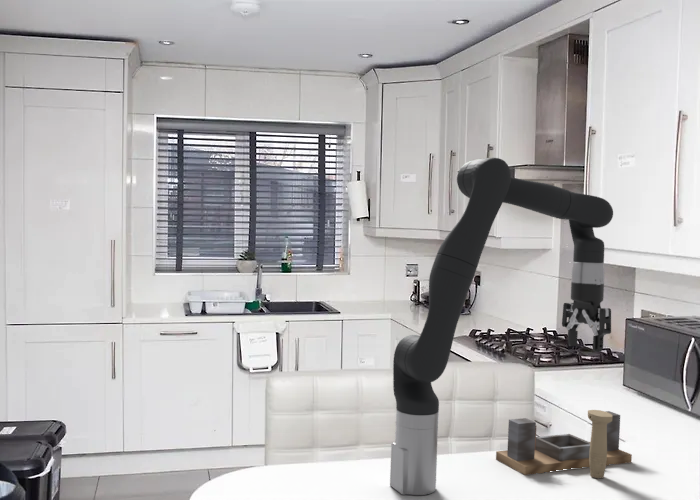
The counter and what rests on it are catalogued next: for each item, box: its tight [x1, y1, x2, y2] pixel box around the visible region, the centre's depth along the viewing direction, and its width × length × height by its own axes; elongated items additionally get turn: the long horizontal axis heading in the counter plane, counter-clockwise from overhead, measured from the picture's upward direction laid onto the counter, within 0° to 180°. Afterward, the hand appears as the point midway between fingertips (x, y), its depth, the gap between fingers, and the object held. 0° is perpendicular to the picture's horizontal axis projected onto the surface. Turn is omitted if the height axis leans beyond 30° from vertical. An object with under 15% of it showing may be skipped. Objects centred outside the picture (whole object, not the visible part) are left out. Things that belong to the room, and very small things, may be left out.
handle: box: [587, 409, 613, 479], centre depth 173 cm, size 5×6×15 cm
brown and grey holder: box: [495, 410, 633, 476], centre depth 184 cm, size 32×12×11 cm, turn 112°
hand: (584, 348), depth 178 cm, fingers open, 8 cm apart
